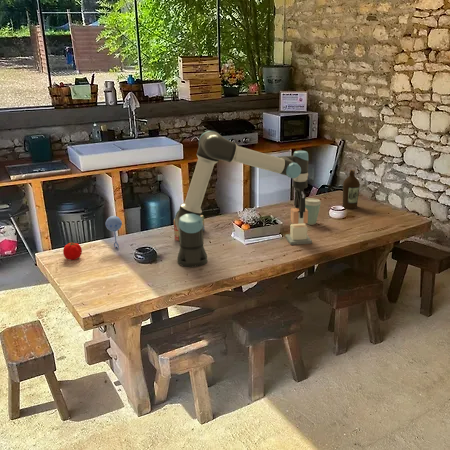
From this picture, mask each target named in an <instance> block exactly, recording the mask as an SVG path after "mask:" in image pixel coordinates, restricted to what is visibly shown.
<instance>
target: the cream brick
mask: <svg viewBox="0 0 450 450" xmlns="http://www.w3.org/2000/svg"><path fill="white" fill-rule="evenodd" d="M289 228H290V229H289V230H290V231H289V234H290V237H291V238H292V240H300V239H307V235H308V226H307V224H306V223H303V224H293V223H292V224H290V227H289Z"/></svg>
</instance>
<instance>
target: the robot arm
mask: <svg viewBox="0 0 450 450" xmlns="http://www.w3.org/2000/svg"><path fill="white" fill-rule="evenodd" d="M196 151H197V152H196V156H197V161H196V164H195V167H194V168H195V169H194V172H193V174H192V178H191V181H190V183H189V188H188V191H187V193H186V197H185V200H184V202H183V203H181V204H180V206H179V209H178V210H177V211H176V213H175V216H174V219H175V224H176V226H177V228H178V231H179V235H180V241H179V247H180V248H179V251H178V253H177V259H176V260H177V261H176V262H177V264H178V265H180V266H181V267H186V268H196V267H201V266H203V265H205V264H206V263H208V254H207V252H206V249H205V245H204V231H203V221H202V218H201V215H202V214H203V211H202V208H201V207H202V203H203V201H204V198H205V194H206V191H207V187H208V185H209V182H210V179H211V175H212V173H213V169H214V168H215V167H214V166H215V165H216V164H217V163H219V161H223V162H227V163H233V162H235V163H239V164H242V165H246V166H251V167H254V168H258V169H262V170H265V171H268V172H272V173H277V174H280V175H283V176H286V177H288V178H290V179H292V180H293V181H292V182H293V184H292V187H293V188H294V202H293V204H294V208H299V211H298V212H299V213H298V224H300V223H303V221H304V212H305V199H306V196H307V195H306V193H305V192H306V191H305V189H307V188H308V176H309V172H308V171H309V153H308V151H306V150H295V151H294V152H293V155H285V156H284V155H283V156H281V155H280V156H279V155H278V156H275V155H271V154H268V153H263V152H261V151H257V150H253V149H250V148H247V147H243V146H241V145H238V144H237V143H236V142H233V141H231V140H228V138H225V137H223V136H222V134H220V133H219V132H217V131H215V130H208V131H207V130H206V131H205V132H203V133H202V134H201V135H200V137H199V139H198V148H197V150H196ZM303 224H304V223H303Z"/></svg>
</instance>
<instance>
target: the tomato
mask: <svg viewBox="0 0 450 450" xmlns="http://www.w3.org/2000/svg"><path fill="white" fill-rule="evenodd" d="M62 250H63V251H62V252H63V256H64V258H65V259H67V260H70V261H72V260H74V261H75V260H77V259H79V258H80V257H81V256H82V254H83V249H82V246H81V245H80V244H79V243H76V242H68V243H67V244H65V246H64V247H63V249H62Z"/></svg>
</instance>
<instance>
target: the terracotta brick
mask: <svg viewBox="0 0 450 450" xmlns="http://www.w3.org/2000/svg"><path fill="white" fill-rule="evenodd" d="M298 211H299V208H295V207H292V208H290V222H291V223H292V224H298V213H299V212H298ZM306 223H308V210H307V209H306V208H305V212H304V221H303V223H300V224H306Z"/></svg>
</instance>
